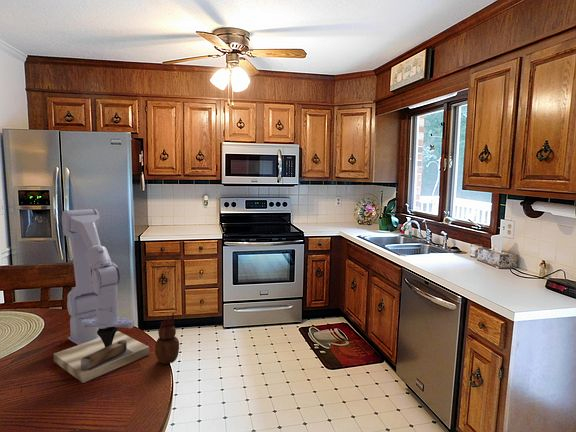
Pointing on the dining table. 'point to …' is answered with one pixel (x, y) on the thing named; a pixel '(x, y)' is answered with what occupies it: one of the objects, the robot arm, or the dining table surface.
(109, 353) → the walnut leg
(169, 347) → the wooden figurine
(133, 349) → the maple seat
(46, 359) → the dining table surface
